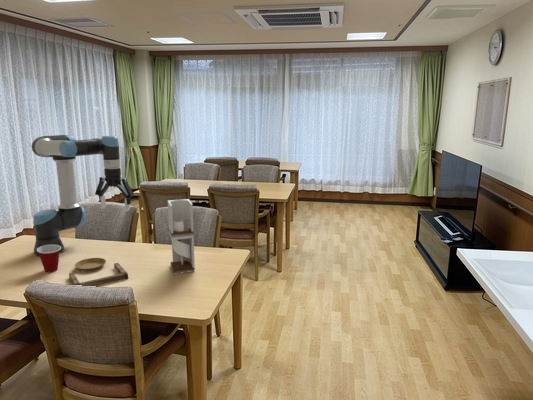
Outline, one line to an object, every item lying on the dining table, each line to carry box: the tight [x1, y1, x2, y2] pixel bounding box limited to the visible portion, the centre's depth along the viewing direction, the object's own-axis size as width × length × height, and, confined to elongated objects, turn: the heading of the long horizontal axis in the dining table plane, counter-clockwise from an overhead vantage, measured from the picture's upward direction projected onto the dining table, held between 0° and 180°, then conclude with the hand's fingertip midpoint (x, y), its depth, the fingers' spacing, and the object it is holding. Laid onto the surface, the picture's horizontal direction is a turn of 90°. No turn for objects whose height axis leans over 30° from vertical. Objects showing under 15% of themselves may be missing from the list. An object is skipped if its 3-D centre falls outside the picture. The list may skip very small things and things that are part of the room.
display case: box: [167, 198, 196, 275], centre depth 197 cm, size 11×11×35 cm
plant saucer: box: [74, 257, 107, 273], centre depth 201 cm, size 15×15×3 cm
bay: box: [68, 262, 129, 287], centre depth 188 cm, size 16×23×2 cm
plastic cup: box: [36, 245, 61, 273], centre depth 196 cm, size 11×11×12 cm
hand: (115, 209), depth 197 cm, fingers open, 13 cm apart
